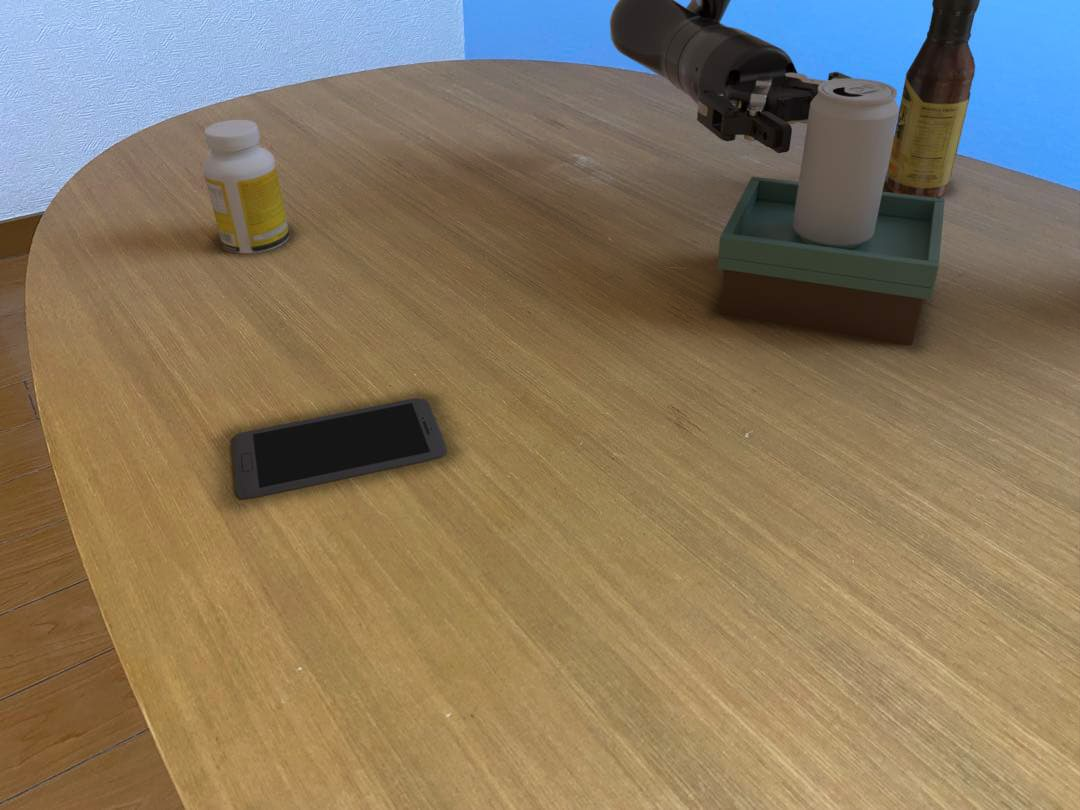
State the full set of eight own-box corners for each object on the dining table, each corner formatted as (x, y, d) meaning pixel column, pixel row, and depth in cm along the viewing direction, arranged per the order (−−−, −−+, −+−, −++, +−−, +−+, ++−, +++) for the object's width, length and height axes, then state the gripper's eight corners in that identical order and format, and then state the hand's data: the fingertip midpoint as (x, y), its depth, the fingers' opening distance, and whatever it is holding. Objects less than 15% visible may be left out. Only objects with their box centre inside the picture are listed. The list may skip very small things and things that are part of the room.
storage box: (925, 282, 82) (945, 198, 78) (916, 357, 72) (938, 266, 68) (742, 256, 87) (751, 175, 83) (711, 323, 77) (719, 236, 73)
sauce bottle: (895, 175, 102) (935, -22, 90) (954, 188, 99) (1004, -15, 87) (874, 196, 98) (913, -8, 86) (935, 209, 95) (984, -1, 83)
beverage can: (775, 229, 78) (795, 82, 71) (839, 215, 80) (864, 70, 73) (823, 260, 73) (849, 106, 66) (889, 244, 75) (921, 93, 68)
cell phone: (231, 442, 65) (229, 433, 65) (427, 403, 69) (426, 395, 68) (237, 509, 60) (235, 500, 59) (451, 463, 63) (450, 454, 62)
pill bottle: (303, 236, 93) (282, 120, 86) (264, 264, 88) (238, 143, 81) (249, 227, 95) (224, 113, 88) (208, 254, 90) (178, 135, 83)
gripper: (665, 42, 82) (759, 96, 69) (808, 25, 85) (923, 73, 73) (661, 127, 86) (748, 192, 73) (797, 107, 89) (903, 166, 77)
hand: (835, 133), depth 73 cm, fingers open, 8 cm apart
